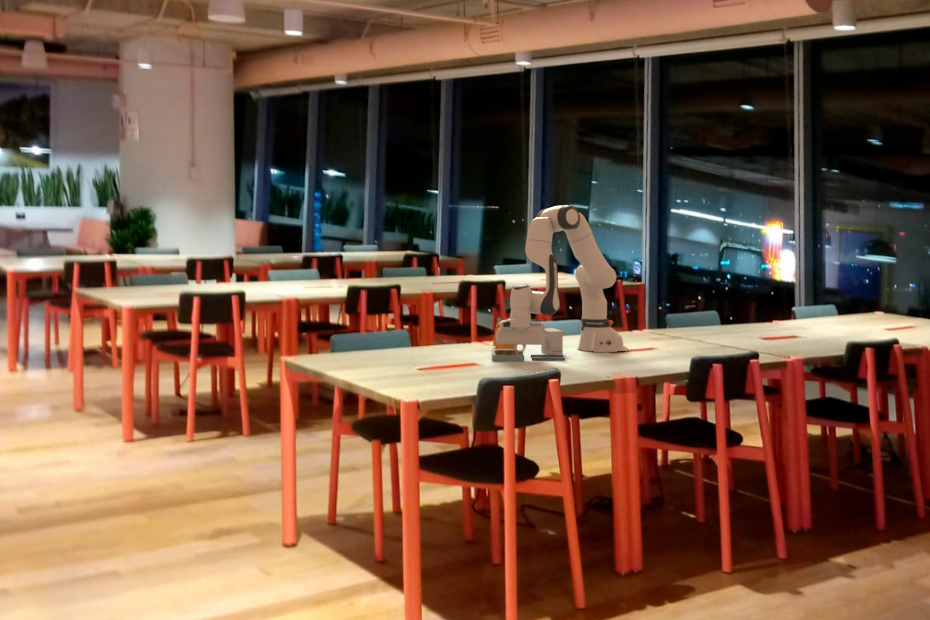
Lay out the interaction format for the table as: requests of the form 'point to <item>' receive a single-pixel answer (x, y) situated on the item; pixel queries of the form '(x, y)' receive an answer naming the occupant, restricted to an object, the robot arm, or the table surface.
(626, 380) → the table surface
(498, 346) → the bracket
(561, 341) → the skincare box
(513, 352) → the chip
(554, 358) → the slot rails
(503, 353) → the chip
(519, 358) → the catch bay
